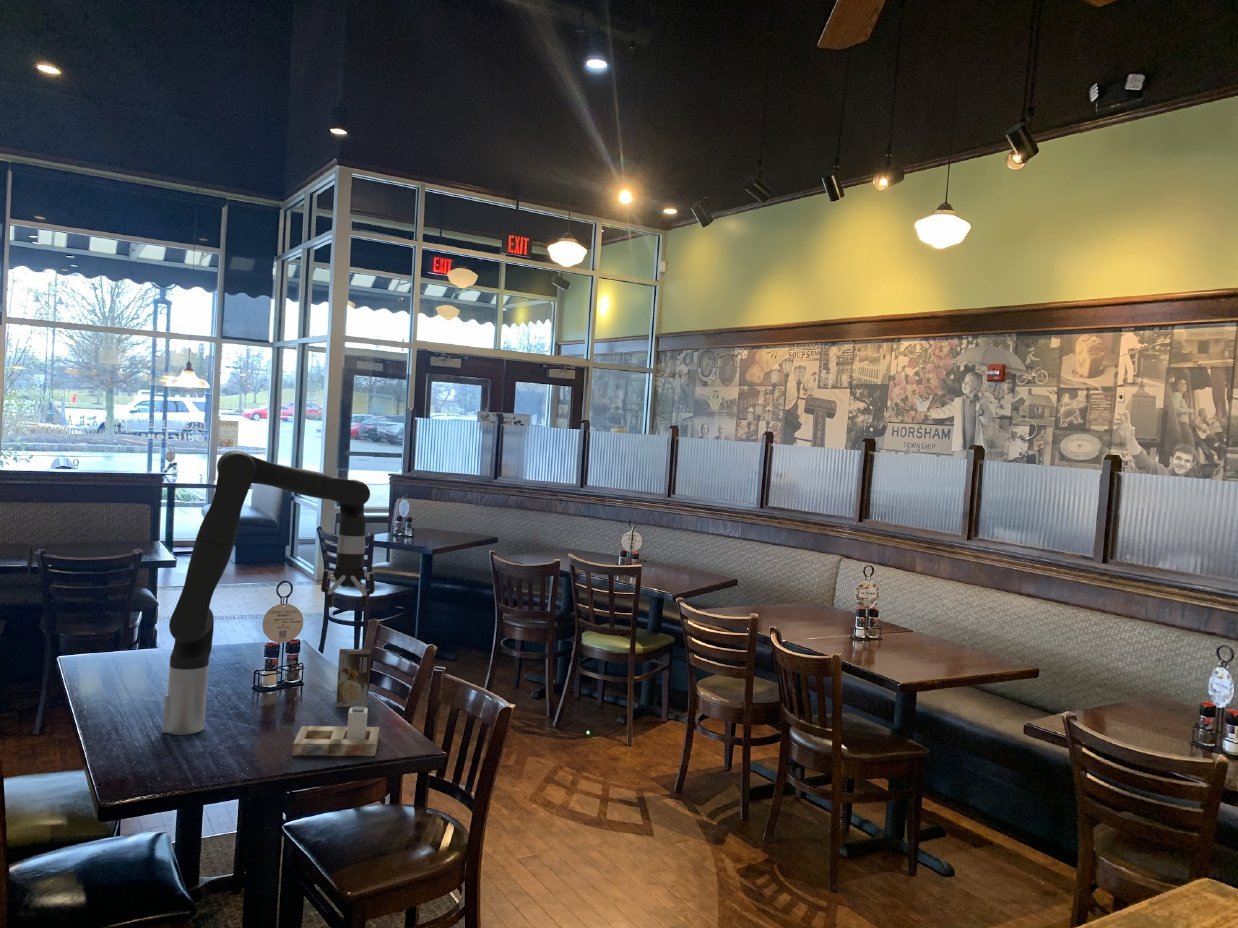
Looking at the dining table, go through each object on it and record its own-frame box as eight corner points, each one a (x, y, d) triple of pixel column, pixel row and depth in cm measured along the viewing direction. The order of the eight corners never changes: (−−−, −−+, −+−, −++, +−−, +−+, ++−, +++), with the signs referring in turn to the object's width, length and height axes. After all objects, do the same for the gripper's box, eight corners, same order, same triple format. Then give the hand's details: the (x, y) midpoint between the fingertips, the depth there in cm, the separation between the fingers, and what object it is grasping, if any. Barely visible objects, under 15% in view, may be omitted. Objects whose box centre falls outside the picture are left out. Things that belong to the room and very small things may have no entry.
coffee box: (367, 700, 265) (371, 648, 265) (367, 707, 259) (371, 653, 259) (336, 700, 263) (339, 648, 262) (335, 707, 257) (338, 653, 256)
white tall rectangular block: (345, 747, 225) (348, 710, 224) (347, 741, 229) (350, 705, 229) (363, 747, 225) (366, 710, 225) (365, 741, 230) (368, 705, 230)
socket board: (292, 755, 217) (293, 744, 217) (301, 737, 231) (301, 725, 231) (374, 756, 221) (375, 744, 221) (378, 737, 235) (379, 726, 234)
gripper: (322, 551, 240) (318, 609, 240) (375, 554, 242) (371, 611, 243) (326, 547, 247) (322, 604, 247) (377, 550, 250) (373, 606, 250)
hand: (346, 607), depth 245 cm, fingers open, 8 cm apart
